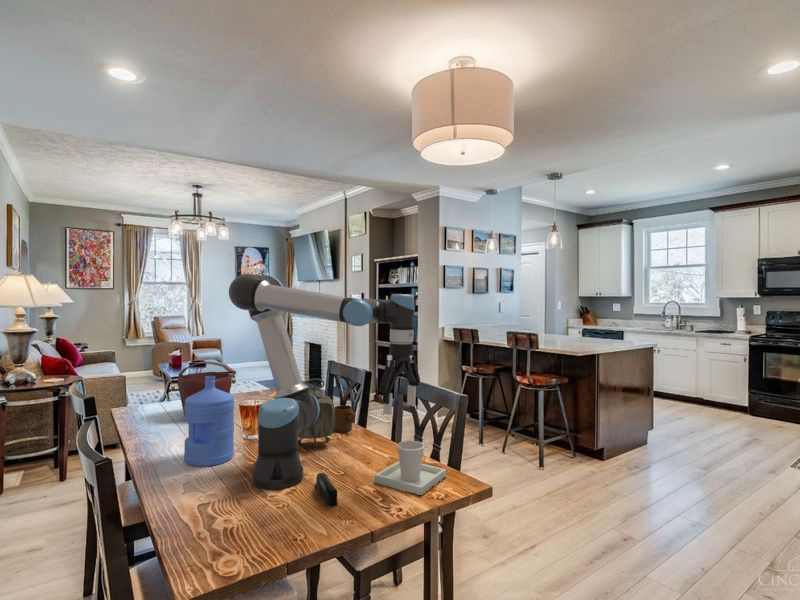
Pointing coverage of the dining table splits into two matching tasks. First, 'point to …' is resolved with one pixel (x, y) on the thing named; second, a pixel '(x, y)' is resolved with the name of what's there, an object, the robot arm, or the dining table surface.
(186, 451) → the water jug
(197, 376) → the bucket
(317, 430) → the tabletop clock
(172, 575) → the dining table surface
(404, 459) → the dixie cup
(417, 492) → the tray
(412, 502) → the dining table surface
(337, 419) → the mug
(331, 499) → the dark green rounded block
